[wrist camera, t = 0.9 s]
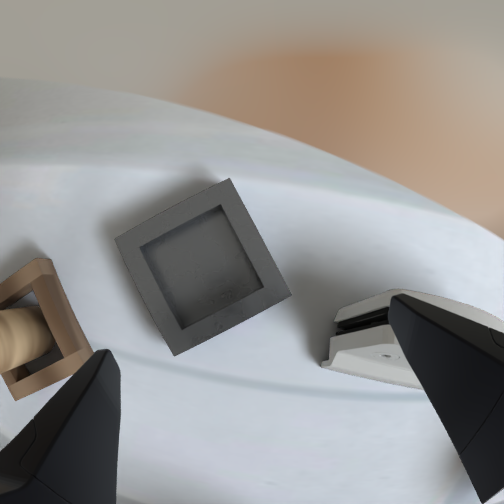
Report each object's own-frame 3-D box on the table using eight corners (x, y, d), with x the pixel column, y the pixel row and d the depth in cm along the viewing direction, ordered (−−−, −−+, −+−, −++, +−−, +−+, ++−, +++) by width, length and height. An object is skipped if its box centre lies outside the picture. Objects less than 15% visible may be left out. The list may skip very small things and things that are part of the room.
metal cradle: (179, 348, 23) (174, 356, 21) (124, 242, 24) (114, 238, 21) (285, 293, 24) (291, 295, 22) (229, 187, 25) (229, 177, 22)
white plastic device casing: (316, 366, 24) (385, 353, 15) (328, 312, 26) (396, 272, 17) (456, 395, 25) (533, 385, 16) (462, 351, 27) (535, 331, 18)
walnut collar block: (28, 393, 22) (15, 401, 19) (-12, 303, 22) (-28, 305, 20) (97, 360, 23) (85, 368, 20) (51, 259, 23) (36, 258, 20)
